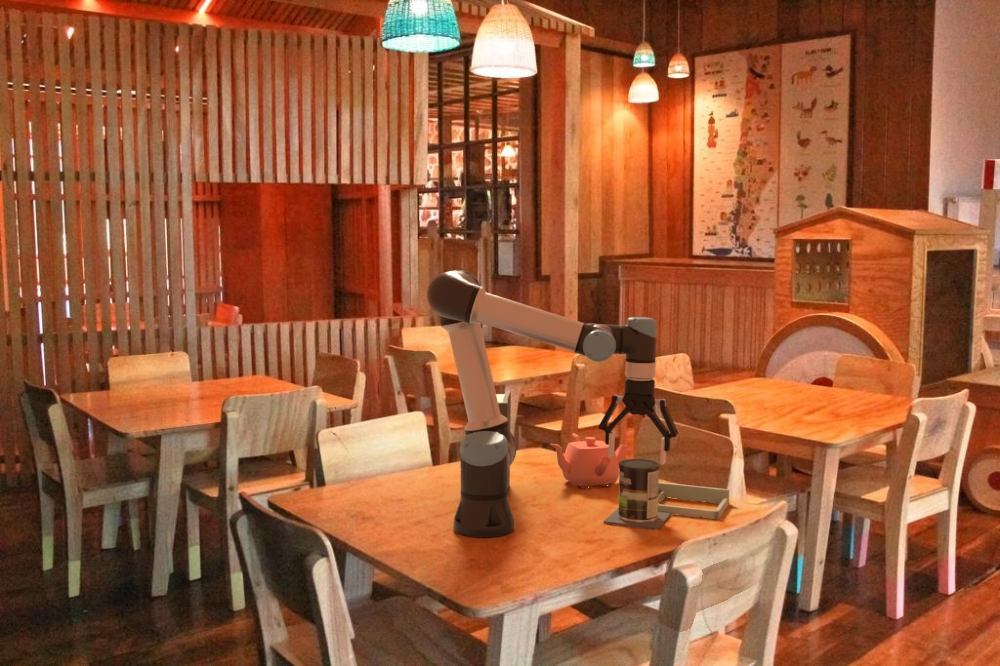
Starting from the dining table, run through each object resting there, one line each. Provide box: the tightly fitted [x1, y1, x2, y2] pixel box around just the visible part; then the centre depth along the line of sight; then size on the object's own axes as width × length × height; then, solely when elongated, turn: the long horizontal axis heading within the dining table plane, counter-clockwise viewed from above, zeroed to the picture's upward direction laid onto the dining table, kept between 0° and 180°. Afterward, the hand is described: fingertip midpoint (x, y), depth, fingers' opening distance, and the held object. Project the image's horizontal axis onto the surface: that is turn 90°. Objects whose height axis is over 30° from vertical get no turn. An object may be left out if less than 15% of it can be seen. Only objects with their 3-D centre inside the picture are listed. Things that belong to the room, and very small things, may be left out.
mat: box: [603, 507, 672, 531], centre depth 246 cm, size 14×14×1 cm
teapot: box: [549, 432, 628, 489], centre depth 280 cm, size 18×18×14 cm
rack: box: [658, 481, 730, 520], centre depth 258 cm, size 16×26×5 cm, turn 67°
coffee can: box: [618, 458, 660, 523], centre depth 245 cm, size 10×10×14 cm
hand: (636, 460), depth 244 cm, fingers open, 13 cm apart
